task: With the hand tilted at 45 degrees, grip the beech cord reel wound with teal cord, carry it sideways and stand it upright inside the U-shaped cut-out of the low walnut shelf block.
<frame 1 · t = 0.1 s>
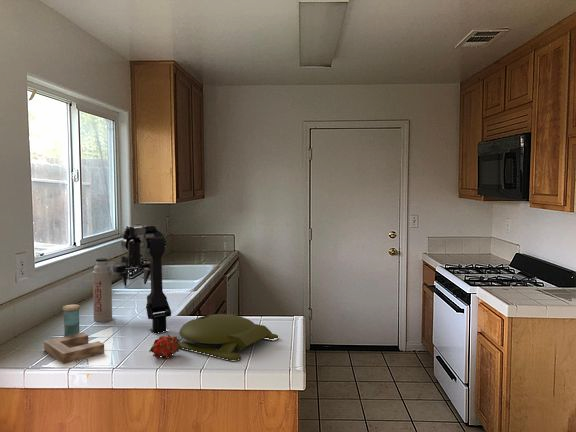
hand: (135, 285, 230), 15 cm above the counter, tool pointing down, fingers open, 9 cm apart
dragon fruit: (165, 357, 179), on the counter
cord reel: (72, 338, 199), on the counter
thermos bottle: (103, 319, 226), on the counter
cutout shelf: (77, 350, 184), on the counter
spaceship: (223, 343, 195), on the counter
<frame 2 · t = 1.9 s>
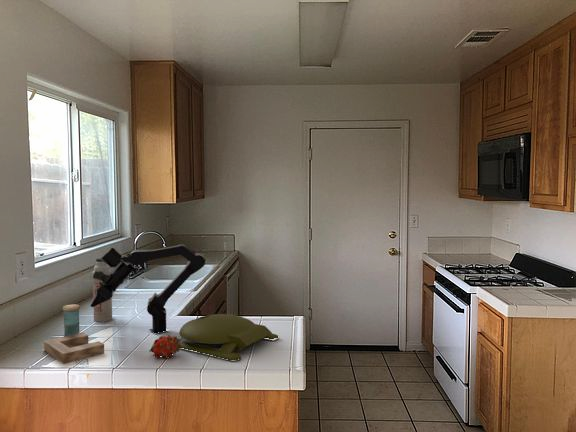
hand: (93, 303, 201), 13 cm above the counter, tool tilted 45°, fingers open, 9 cm apart
nothing on the counter moved.
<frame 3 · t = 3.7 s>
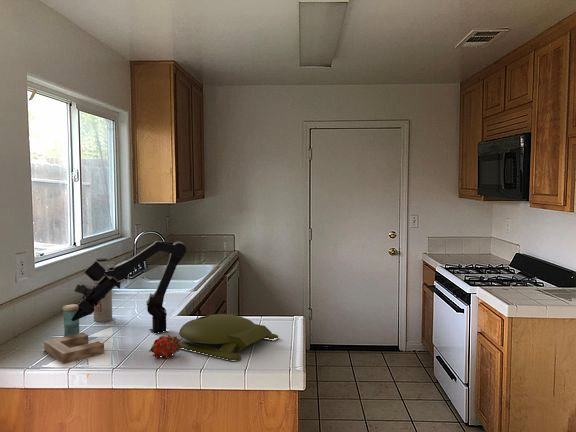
hand: (73, 317, 199), 9 cm above the counter, tool tilted 45°, fingers open, 9 cm apart
nothing on the counter moved.
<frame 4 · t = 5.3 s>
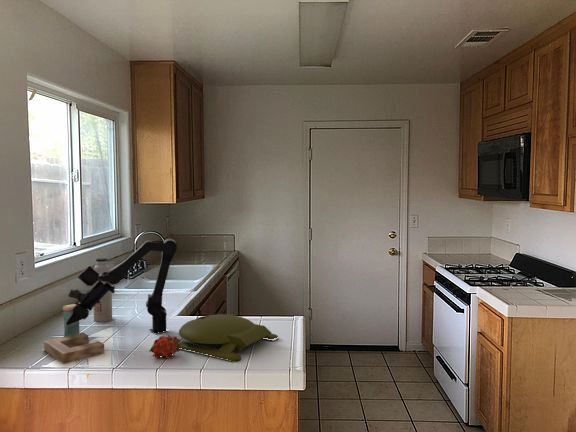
hand: (67, 322, 198), 7 cm above the counter, tool tilted 45°, fingers closed on cord reel, 6 cm apart
cord reel: (72, 338, 199), on the counter, touching gripper
everything else where it was.
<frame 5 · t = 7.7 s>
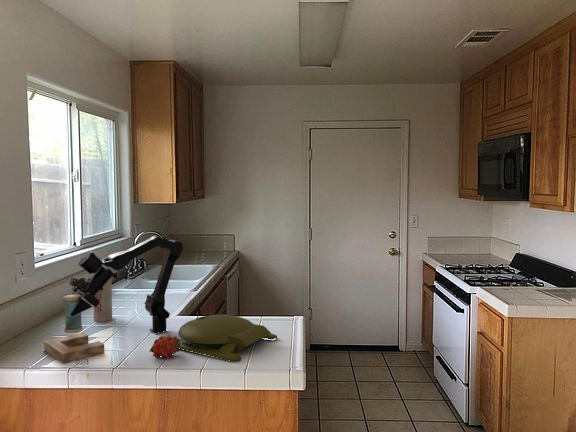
hand: (69, 313, 186), 13 cm above the counter, tool tilted 45°, fingers closed on cord reel, 6 cm apart
cord reel: (73, 330, 187), point 7 cm above the counter, touching gripper
everything else where it was.
when the fingers open (8 cm above the counter, at t = 10.2 s): cord reel drops 1 cm, resting in cutout shelf.
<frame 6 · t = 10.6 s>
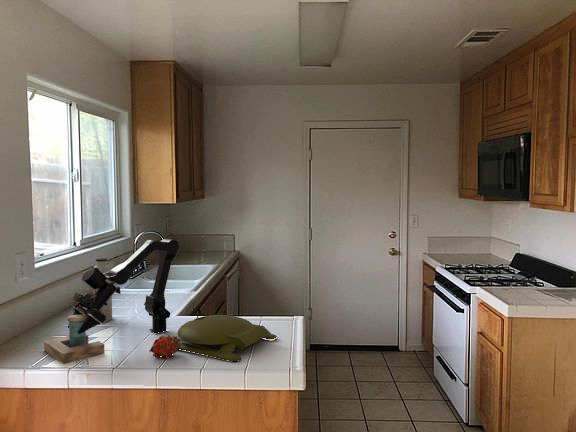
hand: (73, 330, 183), 8 cm above the counter, tool tilted 45°, fingers open, 9 cm apart
cord reel: (78, 350, 184), resting in cutout shelf
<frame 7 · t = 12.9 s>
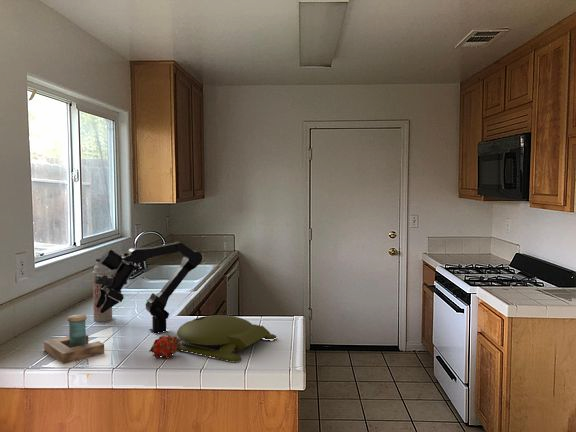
hand: (98, 310, 195), 12 cm above the counter, tool tilted 35°, fingers open, 9 cm apart
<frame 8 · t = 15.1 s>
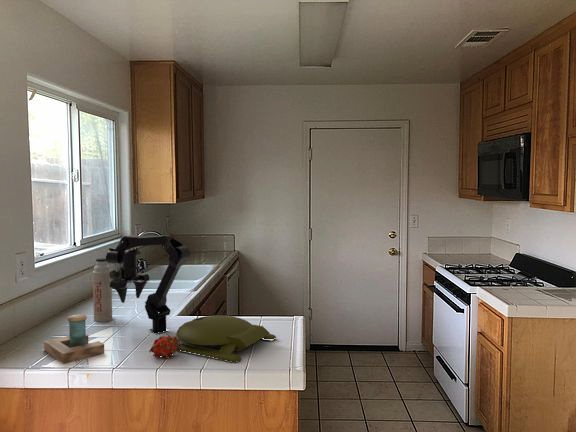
hand: (130, 300, 212), 12 cm above the counter, tool pointing down, fingers open, 9 cm apart
at the end: cord reel 0.1 cm off-centre on the cutout shelf, point 0.0 cm above the cutout shelf's base; cord reel tilted 0°; the gripper is holding nothing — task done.
